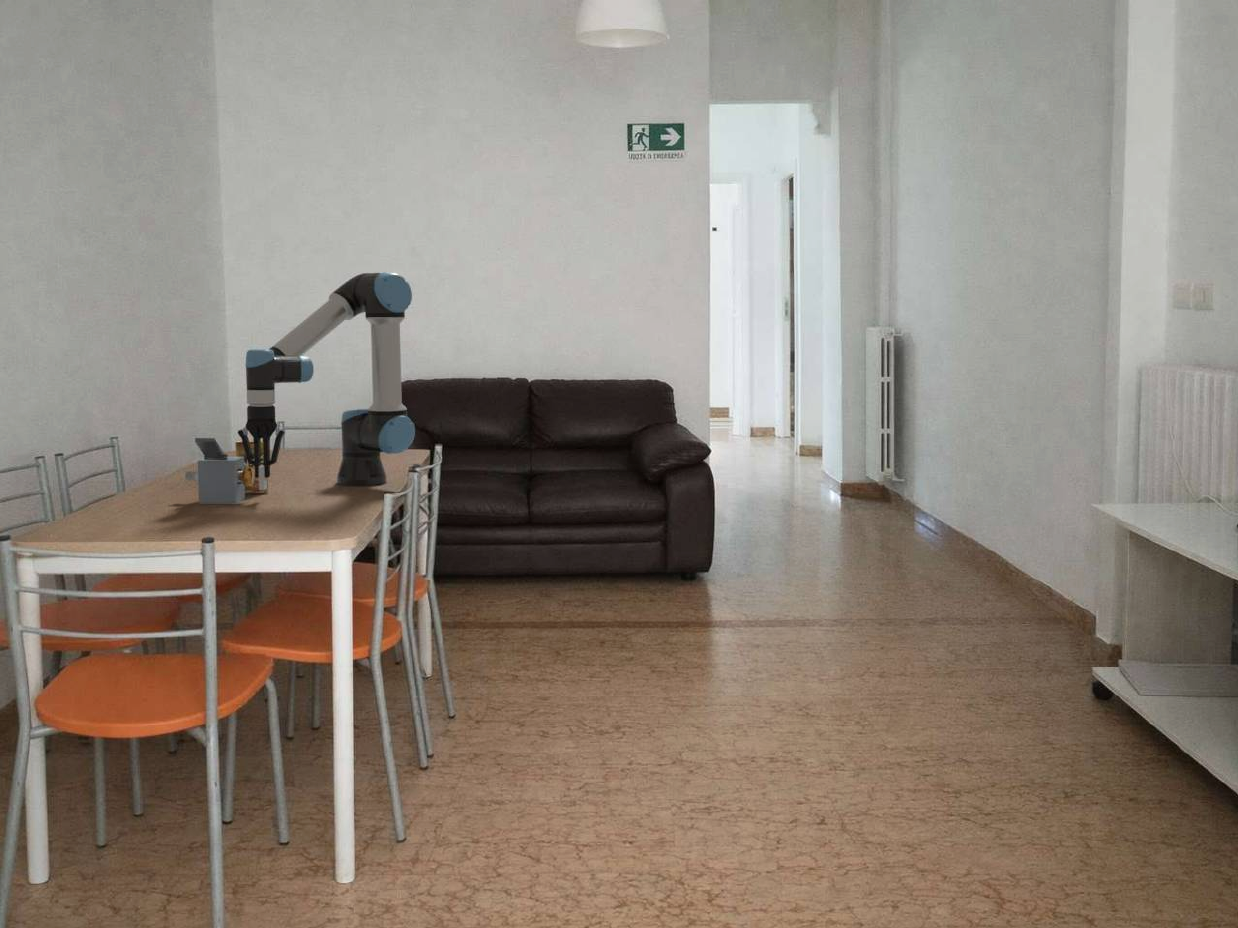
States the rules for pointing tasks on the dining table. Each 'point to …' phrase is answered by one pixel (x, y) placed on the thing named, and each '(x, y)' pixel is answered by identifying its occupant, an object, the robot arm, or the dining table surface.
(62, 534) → the dining table surface
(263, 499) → the dining table surface
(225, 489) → the block
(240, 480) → the pin
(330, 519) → the dining table surface
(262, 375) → the robot arm
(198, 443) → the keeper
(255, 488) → the candy box
